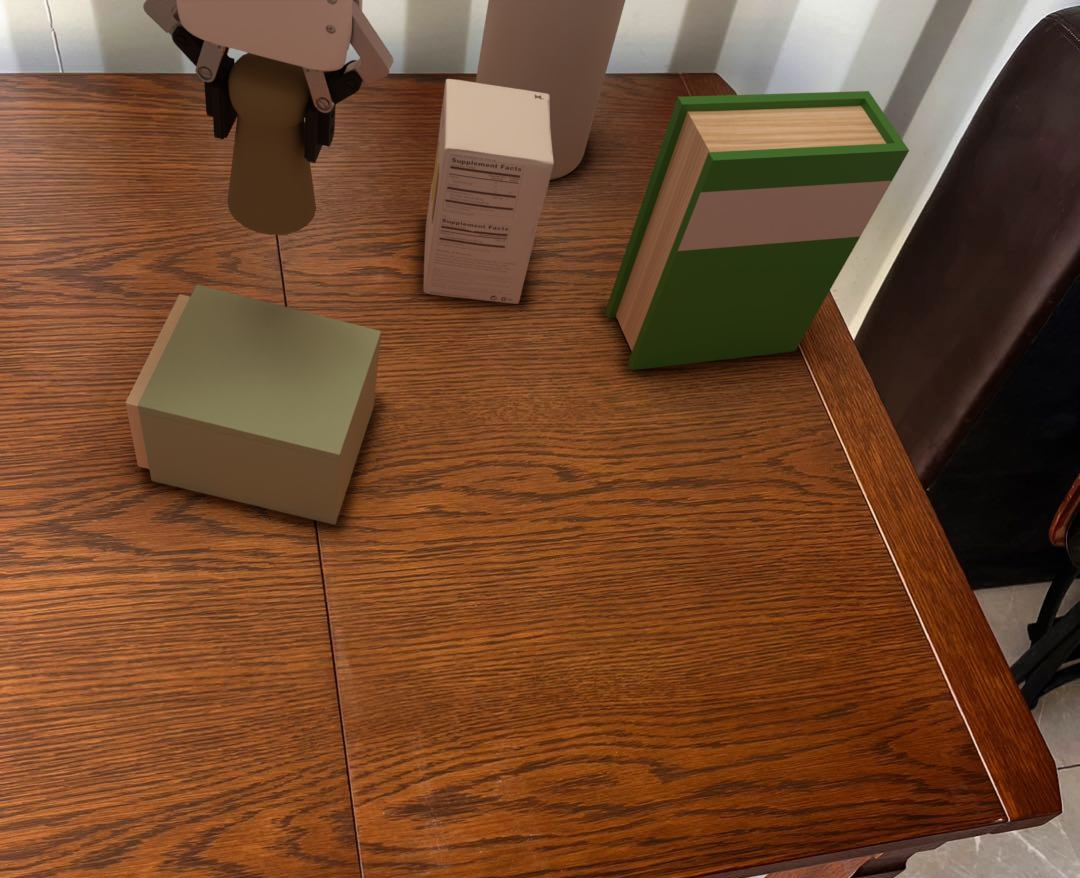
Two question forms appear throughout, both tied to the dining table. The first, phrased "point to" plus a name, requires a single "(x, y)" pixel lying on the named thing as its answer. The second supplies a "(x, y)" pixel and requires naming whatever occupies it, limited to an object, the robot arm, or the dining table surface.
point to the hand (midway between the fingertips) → (271, 135)
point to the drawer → (146, 376)
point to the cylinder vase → (553, 62)
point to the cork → (270, 147)
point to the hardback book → (749, 222)
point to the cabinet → (260, 404)
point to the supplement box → (486, 190)
